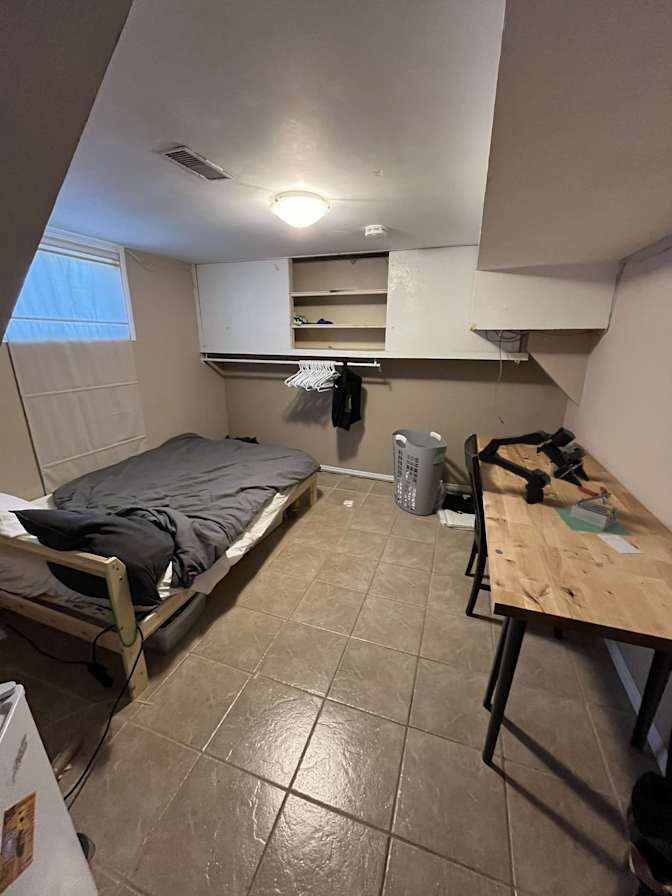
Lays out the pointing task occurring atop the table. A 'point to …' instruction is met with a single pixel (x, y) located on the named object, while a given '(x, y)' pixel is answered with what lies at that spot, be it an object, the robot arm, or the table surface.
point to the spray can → (567, 448)
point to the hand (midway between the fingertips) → (585, 483)
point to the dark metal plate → (595, 497)
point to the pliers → (595, 493)
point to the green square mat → (578, 526)
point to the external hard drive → (620, 544)
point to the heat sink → (594, 515)
